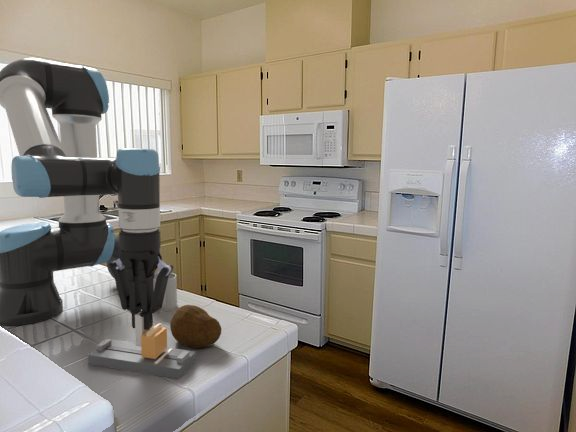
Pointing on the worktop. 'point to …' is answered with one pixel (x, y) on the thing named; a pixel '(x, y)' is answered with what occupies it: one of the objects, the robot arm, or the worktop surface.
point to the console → (141, 359)
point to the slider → (154, 342)
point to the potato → (194, 327)
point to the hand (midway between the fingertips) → (142, 343)
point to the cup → (169, 292)
